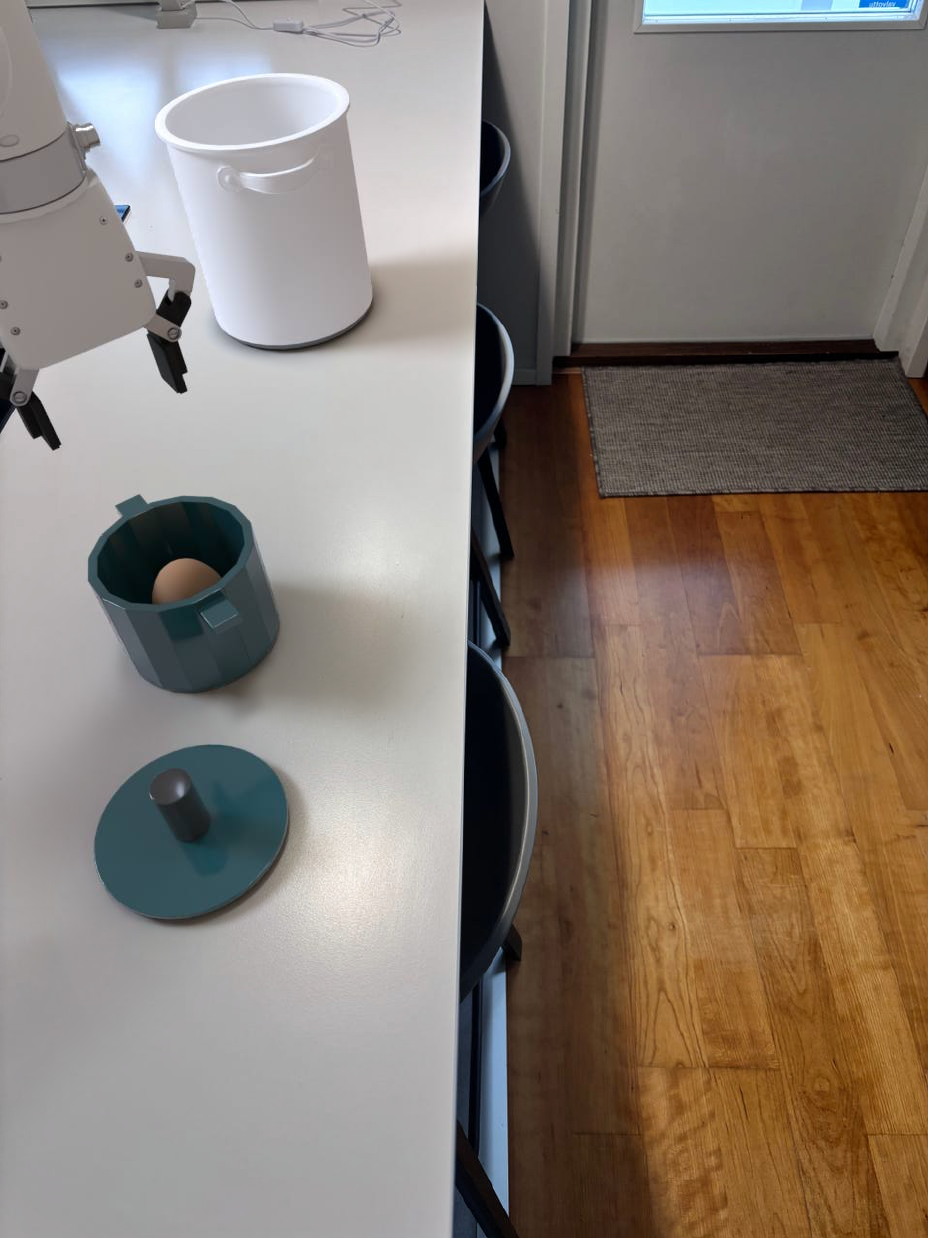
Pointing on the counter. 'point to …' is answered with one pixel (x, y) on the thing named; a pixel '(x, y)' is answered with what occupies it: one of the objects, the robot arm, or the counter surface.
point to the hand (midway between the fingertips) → (114, 411)
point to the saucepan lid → (191, 831)
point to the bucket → (272, 205)
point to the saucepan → (193, 627)
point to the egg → (183, 580)
